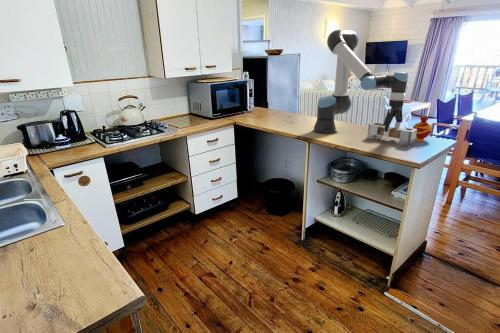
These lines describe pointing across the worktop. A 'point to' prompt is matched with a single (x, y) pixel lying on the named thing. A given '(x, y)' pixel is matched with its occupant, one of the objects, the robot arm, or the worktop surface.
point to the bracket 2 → (408, 137)
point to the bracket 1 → (374, 131)
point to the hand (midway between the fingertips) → (391, 134)
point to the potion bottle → (422, 129)
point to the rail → (390, 131)
